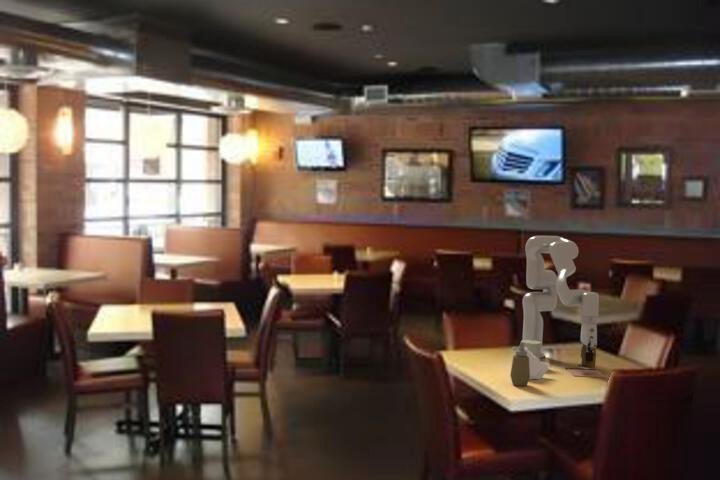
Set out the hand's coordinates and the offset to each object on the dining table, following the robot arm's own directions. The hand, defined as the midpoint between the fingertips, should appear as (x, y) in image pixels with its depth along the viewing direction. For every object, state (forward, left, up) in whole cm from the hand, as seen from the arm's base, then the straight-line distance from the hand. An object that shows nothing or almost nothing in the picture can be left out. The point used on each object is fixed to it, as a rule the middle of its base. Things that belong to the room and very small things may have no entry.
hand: (586, 359), depth 351 cm
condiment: (0, 0, -4) cm, 4 cm away
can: (-23, +11, -7) cm, 26 cm away
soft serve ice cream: (-29, -11, -7) cm, 32 cm away
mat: (0, 0, -7) cm, 7 cm away
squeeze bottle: (-35, -26, -7) cm, 44 cm away
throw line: (0, +9, -7) cm, 11 cm away
